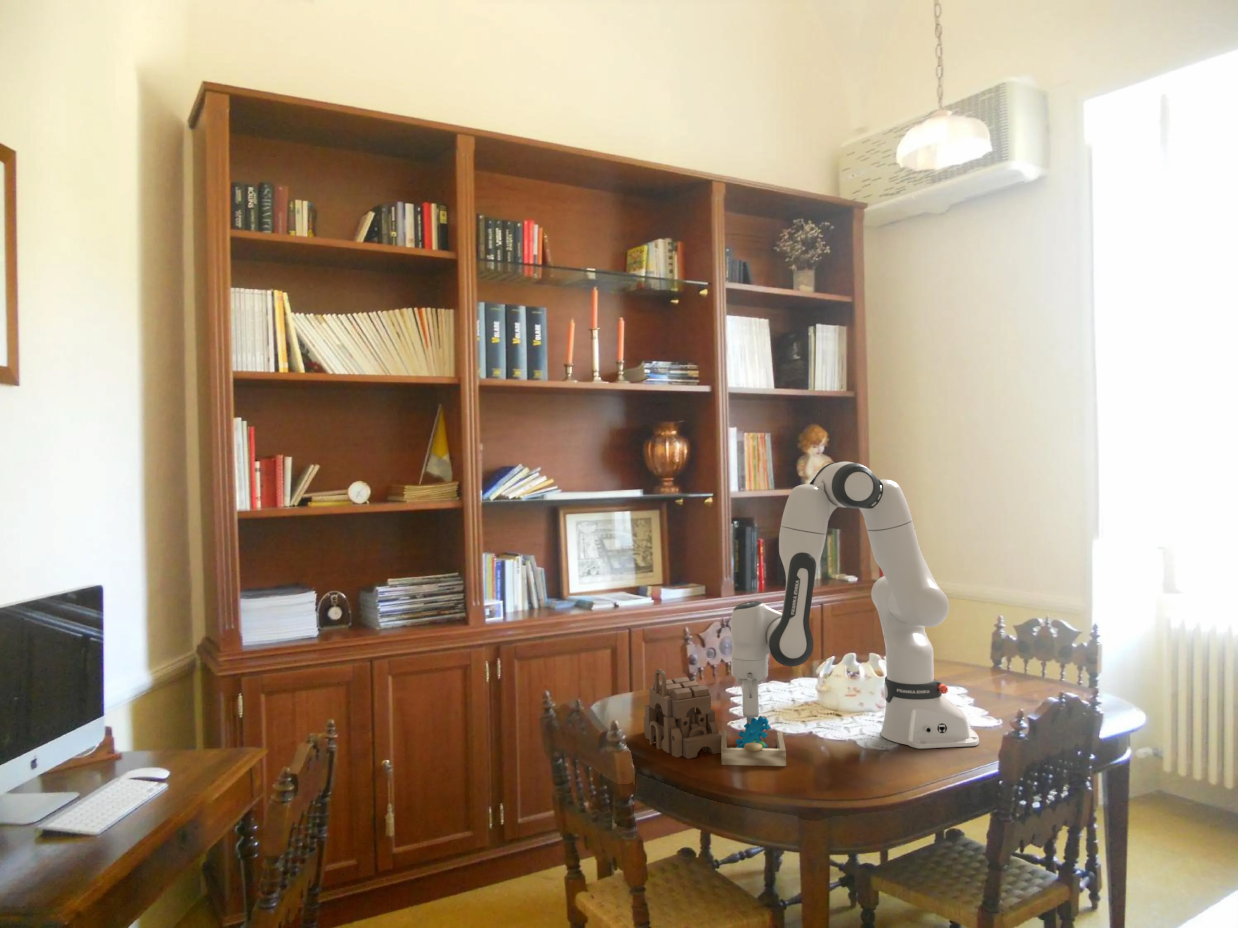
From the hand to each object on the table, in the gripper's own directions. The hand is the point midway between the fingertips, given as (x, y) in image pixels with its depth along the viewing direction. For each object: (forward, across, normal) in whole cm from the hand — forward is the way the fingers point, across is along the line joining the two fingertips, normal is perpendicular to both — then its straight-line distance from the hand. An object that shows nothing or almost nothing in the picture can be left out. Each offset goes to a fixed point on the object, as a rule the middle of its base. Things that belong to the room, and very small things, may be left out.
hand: (750, 724), depth 212 cm
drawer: (+4, -10, 0) cm, 11 cm away
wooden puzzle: (+5, -1, +17) cm, 18 cm away
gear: (+4, -7, -1) cm, 8 cm away
